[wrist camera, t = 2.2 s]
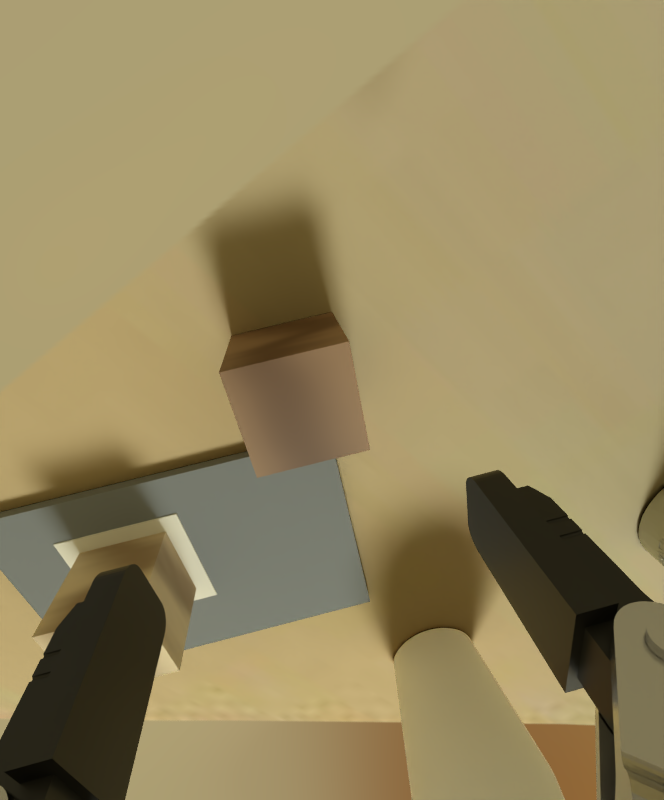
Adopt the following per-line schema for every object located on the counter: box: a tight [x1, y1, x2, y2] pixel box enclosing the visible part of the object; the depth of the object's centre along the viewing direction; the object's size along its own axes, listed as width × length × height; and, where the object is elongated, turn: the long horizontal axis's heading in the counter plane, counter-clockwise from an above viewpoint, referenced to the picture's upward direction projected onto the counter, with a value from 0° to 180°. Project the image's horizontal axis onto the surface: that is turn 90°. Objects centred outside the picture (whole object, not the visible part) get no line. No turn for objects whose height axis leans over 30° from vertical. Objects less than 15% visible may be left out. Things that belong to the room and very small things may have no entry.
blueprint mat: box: [0, 451, 370, 650], centre depth 25 cm, size 20×14×1 cm
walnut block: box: [219, 312, 370, 478], centre depth 18 cm, size 5×5×5 cm
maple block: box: [32, 531, 196, 677], centre depth 22 cm, size 5×5×5 cm
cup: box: [394, 628, 565, 800], centre depth 27 cm, size 9×9×12 cm
